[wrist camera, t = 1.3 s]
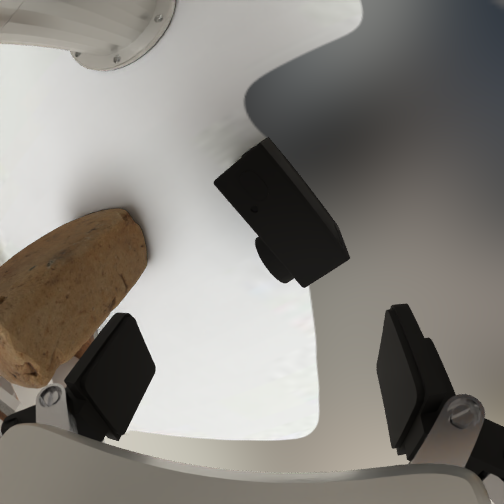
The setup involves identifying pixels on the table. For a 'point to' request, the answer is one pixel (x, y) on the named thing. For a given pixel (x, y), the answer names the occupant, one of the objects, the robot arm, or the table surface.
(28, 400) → the toilet paper holder
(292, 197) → the digital camera
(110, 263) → the brown rounded lump
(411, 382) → the robot arm
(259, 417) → the table surface
